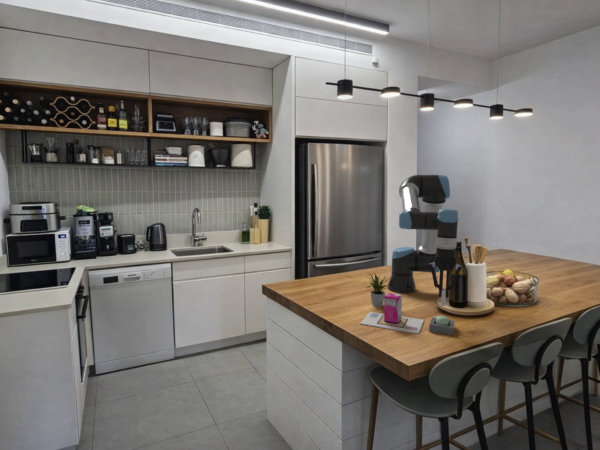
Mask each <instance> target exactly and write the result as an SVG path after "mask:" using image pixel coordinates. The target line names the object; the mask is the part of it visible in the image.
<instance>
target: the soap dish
mask: <svg viewBox="0 0 600 450" xmlns="http://www.w3.org/2000/svg"><path fill="white" fill-rule="evenodd" d="M455 321H456V320H453V319H449V326H445V325H439V324H436V317H431V319H430V322H429V326H428V327H429V329H428V330H429V331H428V332H429V333H437V334H441V335H442V334H444V335H450V336H453V335H454V332H455V331H454V330H455Z"/></svg>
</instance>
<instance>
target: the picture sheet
mask: <svg viewBox="0 0 600 450" xmlns="http://www.w3.org/2000/svg"><path fill="white" fill-rule="evenodd" d="M424 322H425V319H421V318H414V317H408V316H402V315H401V321H400V322H399V323H397V324H393V323H389V322H384V313H383V312H382V313H381V312H380V313H379V312H375V311H374V312H373V311H369V312H368V313H367V315H366V316H365V317H364V318H363V319H362V320H361V322H360V323H359V325H361V324H362V326H367V325H368V326H370V327H373V326H374V328H380V329H387V330H393V331H398V332H404V333H410V334H411V333H412V334H416V335H419V334H420V332H421V329H422V327H423V325H424ZM368 326H367V327H368Z"/></svg>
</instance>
